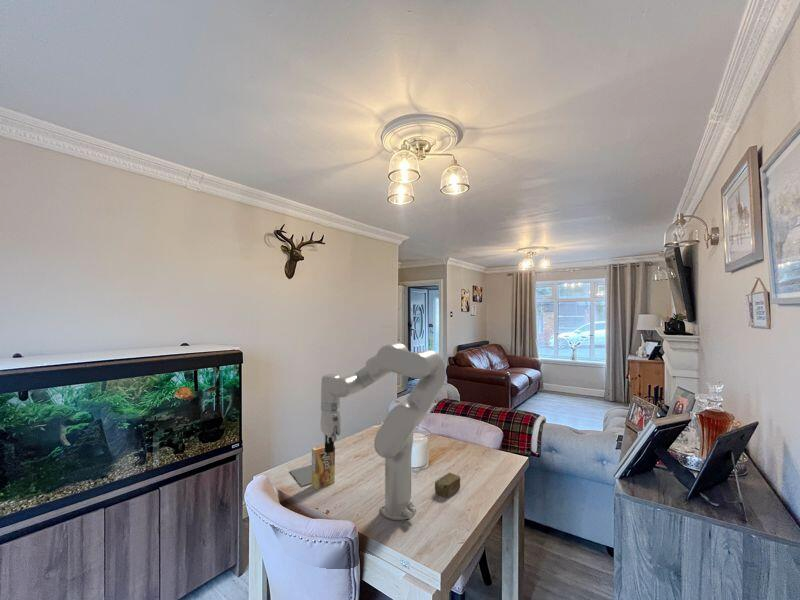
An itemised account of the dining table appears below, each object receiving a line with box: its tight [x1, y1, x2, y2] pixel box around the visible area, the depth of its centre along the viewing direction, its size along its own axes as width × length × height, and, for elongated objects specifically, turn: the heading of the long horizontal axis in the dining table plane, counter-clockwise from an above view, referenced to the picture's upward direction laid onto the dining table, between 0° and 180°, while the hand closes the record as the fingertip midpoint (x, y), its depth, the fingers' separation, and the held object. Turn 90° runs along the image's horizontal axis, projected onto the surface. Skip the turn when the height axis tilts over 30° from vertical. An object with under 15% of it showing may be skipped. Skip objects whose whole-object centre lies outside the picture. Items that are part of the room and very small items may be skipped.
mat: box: [289, 464, 312, 487], centre depth 147 cm, size 16×14×1 cm
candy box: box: [310, 444, 336, 490], centre depth 139 cm, size 9×4×15 cm, turn 129°
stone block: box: [434, 471, 461, 498], centre depth 134 cm, size 6×12×5 cm, turn 139°
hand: (329, 451), depth 134 cm, fingers closed
